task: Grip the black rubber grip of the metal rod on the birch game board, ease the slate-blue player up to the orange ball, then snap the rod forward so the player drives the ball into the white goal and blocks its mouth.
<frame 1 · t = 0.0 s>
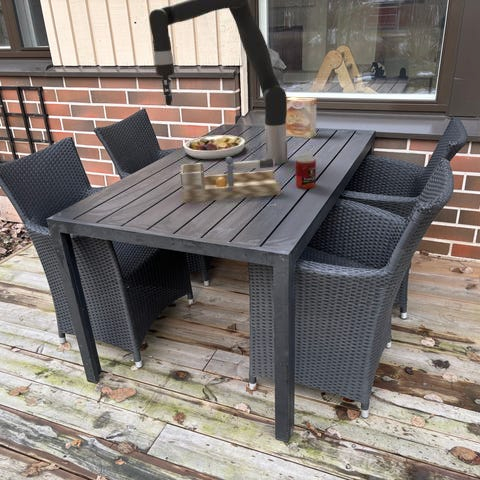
hand: (169, 103, 202), 29 cm above the table, tool pointing down, fingers open, 8 cm apart
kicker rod: (250, 169, 182), point 8 cm above the table, slide at 0.0 cm
ball: (221, 183, 184), point 4 cm above the table, touching game board
bowl: (215, 152, 238), on the table
game board: (233, 191, 185), on the table
canned food: (305, 186, 186), on the table
coffeecake box: (300, 136, 257), on the table
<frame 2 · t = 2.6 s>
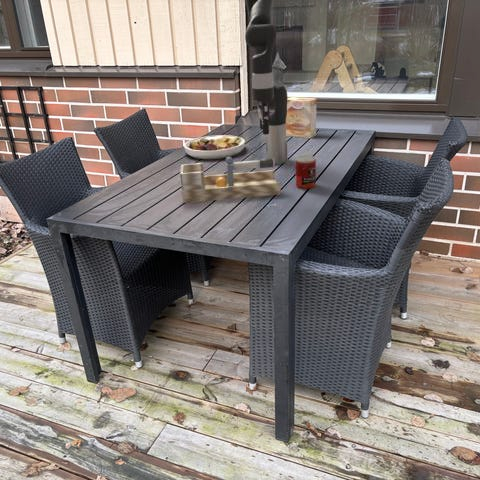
hand: (264, 131, 177), 22 cm above the table, tool pointing down, fingers open, 8 cm apart
nothing on the table moved.
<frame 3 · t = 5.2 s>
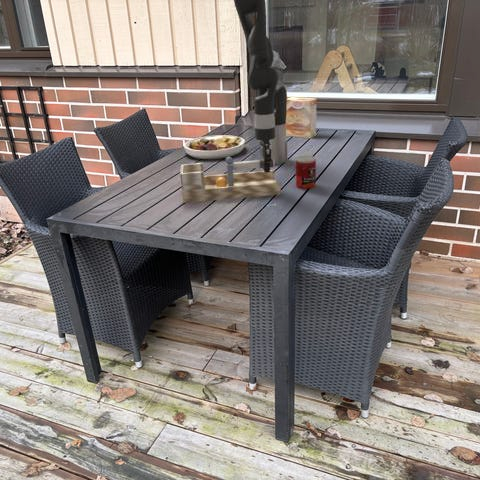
hand: (266, 170, 183), 7 cm above the table, tool pointing down, fingers closed on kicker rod, 3 cm apart
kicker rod: (250, 169, 182), point 8 cm above the table, slide at 0.0 cm, touching gripper
everything else where it was.
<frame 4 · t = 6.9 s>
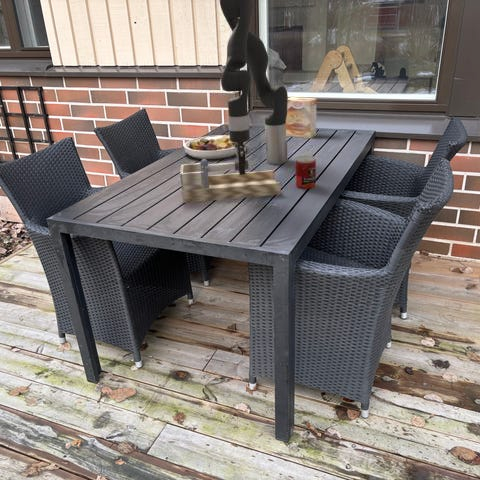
hand: (241, 172, 183), 7 cm above the table, tool pointing down, fingers closed on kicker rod, 3 cm apart
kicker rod: (225, 171, 182), point 8 cm above the table, slide at 9.4 cm, touching gripper
ball: (192, 185, 183), point 4 cm above the table, tilted 85°, touching game board
everything else where it was.
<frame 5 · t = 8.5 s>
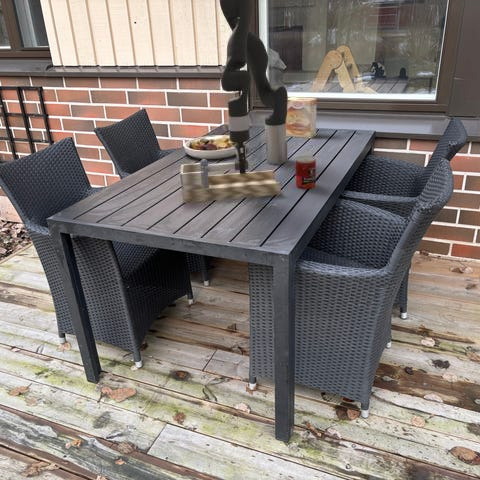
hand: (241, 170, 182), 8 cm above the table, tool pointing down, fingers open, 8 cm apart
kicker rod: (225, 171, 182), point 8 cm above the table, slide at 9.5 cm
ball: (197, 185, 183), point 4 cm above the table, tilted 137°, touching game board
everything else where it was.
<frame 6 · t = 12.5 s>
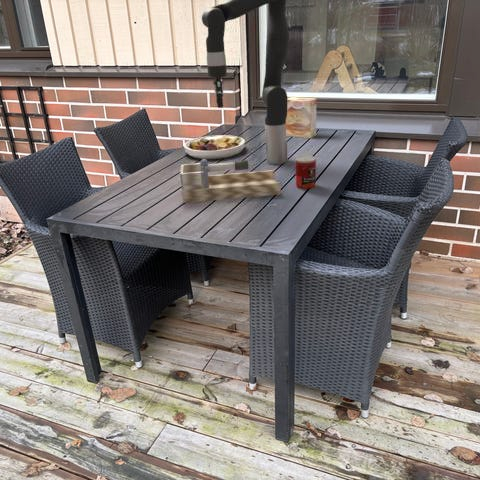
hand: (219, 105, 196), 28 cm above the table, tool pointing down, fingers open, 8 cm apart
ball: (196, 185, 183), point 4 cm above the table, tilted 128°, touching game board
everything else where it was.
at the end: ball inside the target area on the game board (0.9 cm from its centre), point 3.7 cm above the game board's base; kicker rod slide at 9.5 cm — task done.
